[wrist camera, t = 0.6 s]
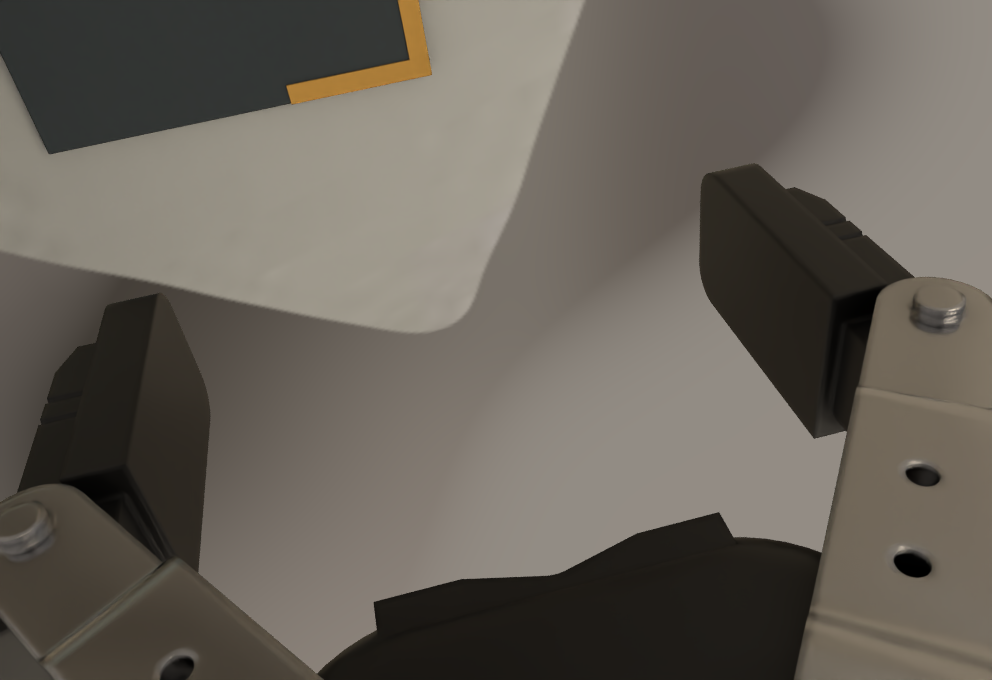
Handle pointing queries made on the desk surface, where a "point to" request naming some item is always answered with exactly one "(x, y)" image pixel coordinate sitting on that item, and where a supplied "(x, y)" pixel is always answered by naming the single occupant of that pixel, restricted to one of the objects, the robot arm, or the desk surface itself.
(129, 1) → the mat
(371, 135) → the desk surface
